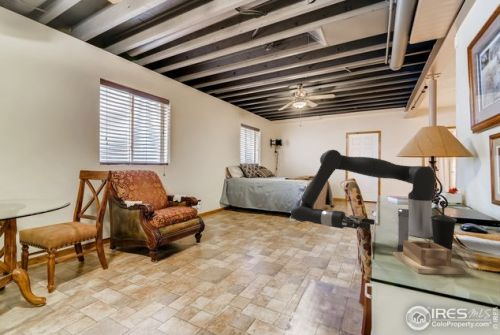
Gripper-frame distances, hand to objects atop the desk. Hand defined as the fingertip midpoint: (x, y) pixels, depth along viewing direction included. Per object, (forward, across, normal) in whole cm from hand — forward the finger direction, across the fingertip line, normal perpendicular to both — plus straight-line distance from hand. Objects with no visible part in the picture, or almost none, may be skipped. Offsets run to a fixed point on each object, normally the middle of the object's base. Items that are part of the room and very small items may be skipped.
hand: (372, 224), depth 98 cm
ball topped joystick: (+11, 0, +9) cm, 14 cm away
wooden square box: (+18, -8, +9) cm, 22 cm away
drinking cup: (+23, +7, +9) cm, 26 cm away
